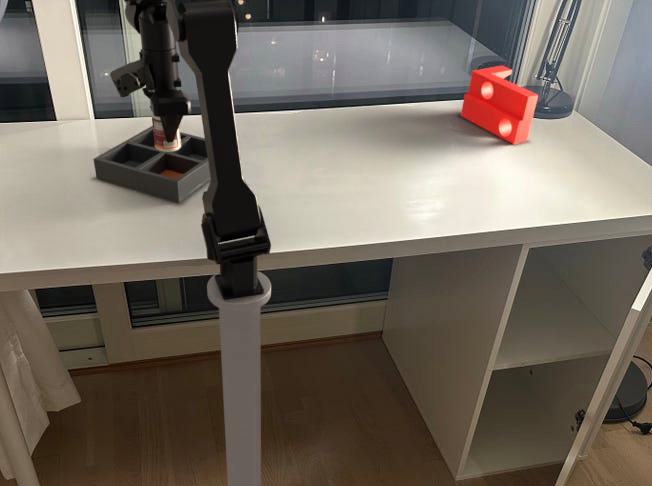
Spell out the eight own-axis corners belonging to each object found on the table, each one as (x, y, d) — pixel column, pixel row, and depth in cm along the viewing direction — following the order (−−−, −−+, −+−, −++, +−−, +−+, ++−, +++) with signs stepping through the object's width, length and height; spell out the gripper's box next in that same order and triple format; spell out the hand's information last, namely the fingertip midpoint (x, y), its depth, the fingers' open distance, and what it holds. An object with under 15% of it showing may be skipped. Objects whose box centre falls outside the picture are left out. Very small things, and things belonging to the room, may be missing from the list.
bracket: (469, 71, 160) (502, 65, 164) (460, 115, 167) (492, 109, 171) (525, 97, 149) (559, 90, 153) (513, 144, 155) (546, 136, 159)
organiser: (232, 164, 142) (232, 145, 140) (179, 203, 129) (177, 182, 127) (155, 144, 148) (153, 125, 146) (96, 179, 135) (93, 158, 133)
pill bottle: (162, 140, 131) (158, 94, 126) (185, 144, 130) (182, 99, 125) (150, 149, 128) (145, 103, 122) (173, 154, 127) (169, 108, 121)
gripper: (103, 32, 122) (115, 121, 132) (117, 67, 109) (129, 162, 119) (167, 29, 125) (174, 116, 135) (188, 62, 112) (194, 156, 122)
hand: (167, 136), depth 128 cm, fingers closed on pill bottle, 5 cm apart
